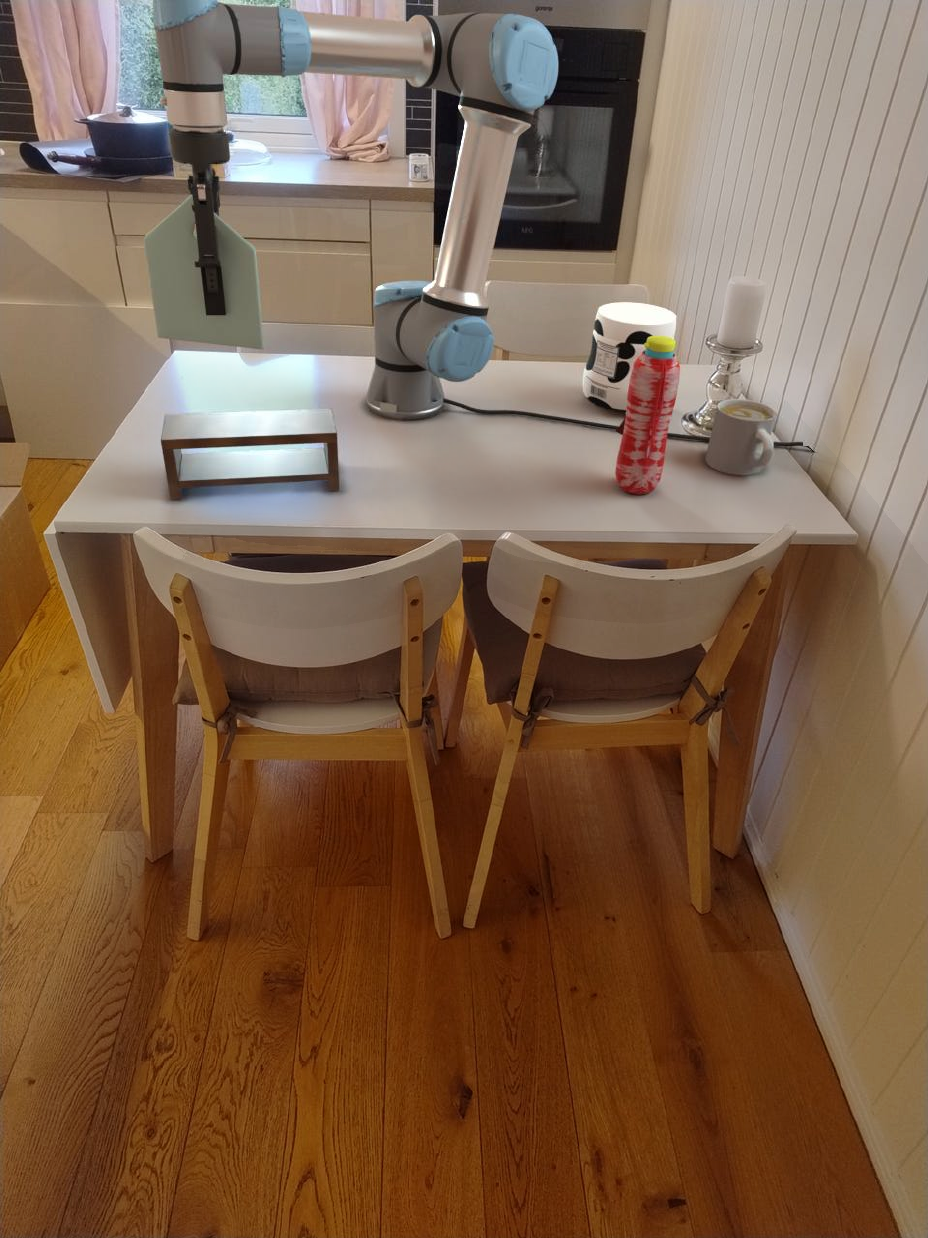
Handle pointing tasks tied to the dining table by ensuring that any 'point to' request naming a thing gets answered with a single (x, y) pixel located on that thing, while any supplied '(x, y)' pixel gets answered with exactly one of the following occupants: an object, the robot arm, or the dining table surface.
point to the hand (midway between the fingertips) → (217, 305)
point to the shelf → (249, 464)
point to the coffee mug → (741, 437)
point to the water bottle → (647, 416)
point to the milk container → (621, 349)
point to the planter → (182, 286)
